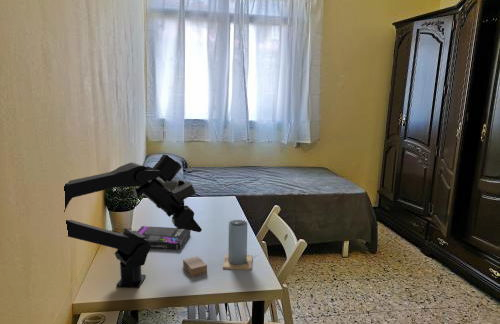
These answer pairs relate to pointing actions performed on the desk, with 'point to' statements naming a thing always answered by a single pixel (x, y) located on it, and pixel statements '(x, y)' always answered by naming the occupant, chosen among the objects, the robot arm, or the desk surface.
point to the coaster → (245, 266)
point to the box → (165, 237)
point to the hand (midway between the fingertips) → (196, 225)
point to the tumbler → (237, 242)
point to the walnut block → (194, 266)
